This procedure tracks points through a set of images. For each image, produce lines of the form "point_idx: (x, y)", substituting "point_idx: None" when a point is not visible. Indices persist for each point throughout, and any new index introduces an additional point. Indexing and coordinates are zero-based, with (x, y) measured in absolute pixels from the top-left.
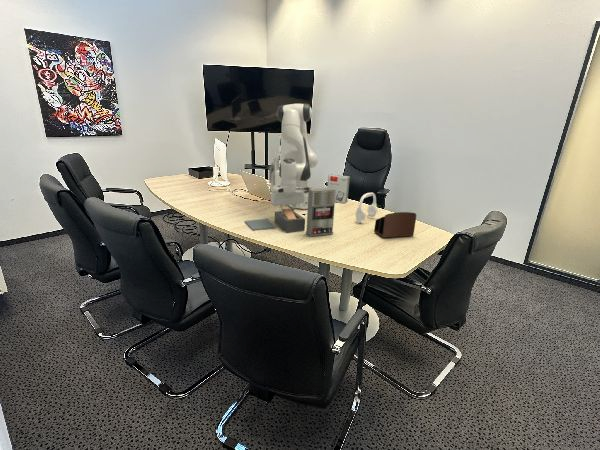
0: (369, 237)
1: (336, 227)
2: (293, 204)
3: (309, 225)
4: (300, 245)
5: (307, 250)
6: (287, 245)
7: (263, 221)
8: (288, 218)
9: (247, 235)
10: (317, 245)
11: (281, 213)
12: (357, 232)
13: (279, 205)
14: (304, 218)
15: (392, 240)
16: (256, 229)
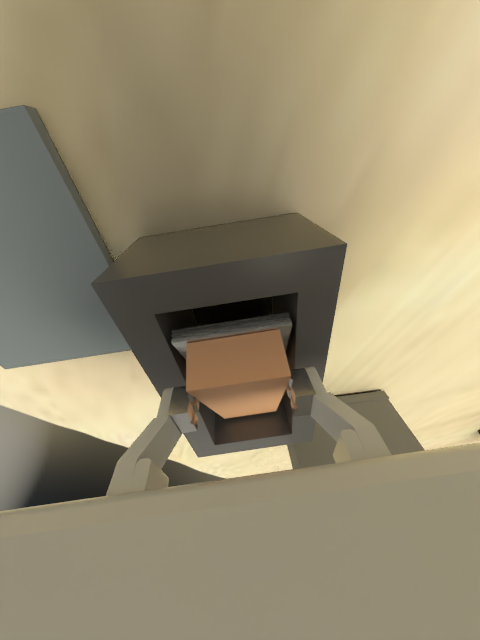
0: (447, 429)
1: (456, 360)
2: (338, 451)
3: (293, 461)
4: (223, 456)
5: (232, 470)
6: (186, 456)
7: (19, 221)
8: (221, 413)
9: (12, 404)
10: (269, 456)
11: (180, 348)
12: (464, 403)
13: (122, 477)
14: (312, 437)
15: (474, 441)
16: (29, 362)
